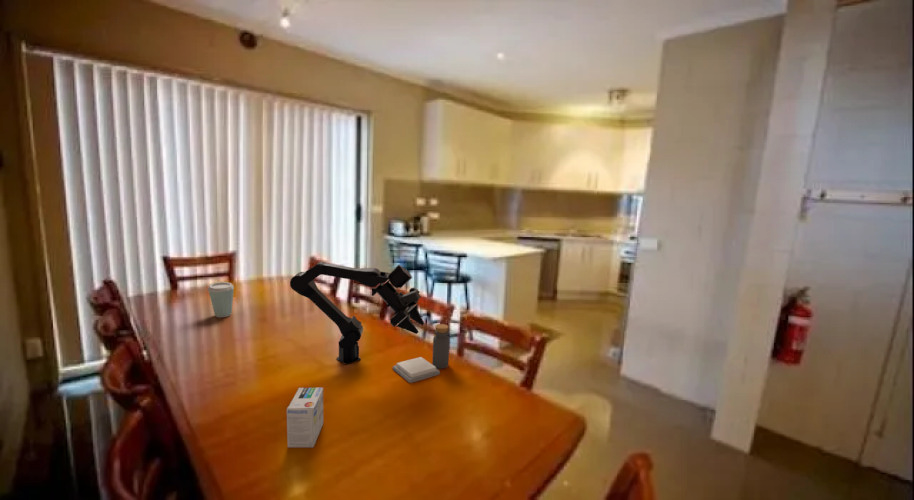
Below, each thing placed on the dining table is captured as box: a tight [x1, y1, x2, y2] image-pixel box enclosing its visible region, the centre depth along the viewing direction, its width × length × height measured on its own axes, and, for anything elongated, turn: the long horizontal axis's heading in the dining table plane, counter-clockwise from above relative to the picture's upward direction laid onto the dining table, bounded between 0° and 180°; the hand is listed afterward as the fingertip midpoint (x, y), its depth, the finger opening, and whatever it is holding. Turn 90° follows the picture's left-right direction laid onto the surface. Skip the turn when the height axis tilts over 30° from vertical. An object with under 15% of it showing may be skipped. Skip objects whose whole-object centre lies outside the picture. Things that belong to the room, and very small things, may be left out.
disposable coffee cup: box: [207, 281, 235, 318], centre depth 193 cm, size 11×11×15 cm
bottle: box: [431, 323, 450, 370], centre depth 152 cm, size 6×6×15 cm
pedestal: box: [392, 356, 441, 384], centre depth 147 cm, size 12×12×2 cm
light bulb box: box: [286, 387, 324, 448], centre depth 108 cm, size 11×7×11 cm, turn 5°
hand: (420, 328), depth 152 cm, fingers open, 9 cm apart
